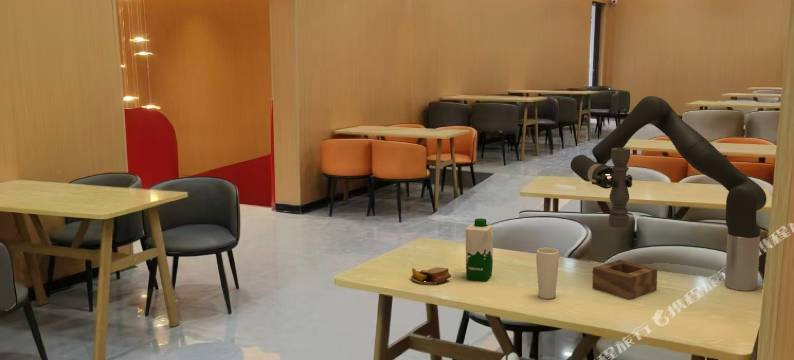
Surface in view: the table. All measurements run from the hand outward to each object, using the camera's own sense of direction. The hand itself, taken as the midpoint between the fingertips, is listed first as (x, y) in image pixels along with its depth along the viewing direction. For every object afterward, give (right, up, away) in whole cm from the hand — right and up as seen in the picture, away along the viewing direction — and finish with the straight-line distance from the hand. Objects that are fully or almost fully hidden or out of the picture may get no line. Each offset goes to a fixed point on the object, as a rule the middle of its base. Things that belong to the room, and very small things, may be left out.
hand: (623, 184), depth 220 cm
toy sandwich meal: (-60, -33, +18) cm, 71 cm away
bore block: (+1, -34, +3) cm, 34 cm away
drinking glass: (-25, -35, -2) cm, 43 cm away
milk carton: (-44, -32, +18) cm, 57 cm away
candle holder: (0, -14, +5) cm, 14 cm away
